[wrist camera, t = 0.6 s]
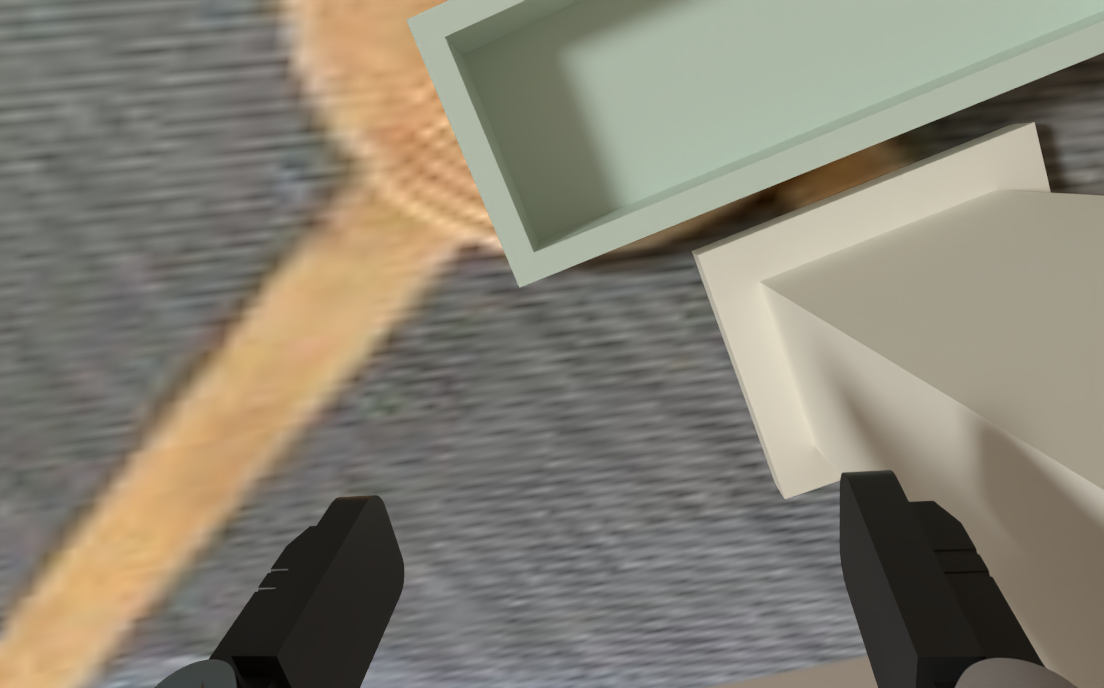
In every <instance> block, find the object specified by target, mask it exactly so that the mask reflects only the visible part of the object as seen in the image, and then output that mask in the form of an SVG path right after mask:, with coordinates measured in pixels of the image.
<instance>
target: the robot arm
mask: <svg viewBox="0 0 1104 688" xmlns="http://www.w3.org/2000/svg"><path fill="white" fill-rule="evenodd" d="M840 557H841V565H842V571H843V576H844V581H845V585H846V588H847V591H848V594H849V597H850V601H851V604H852V607H853V610H854V613H855V616H856V619H857V623H858V626H859V629H860V632H861V635H862V638H863V641H864V645H865V648H866V651H867V654H868V657H869V660H870V663H871V667H872V670H873V673H874V676H875V679H876V682H877V685H878V688H1077V687H1076V686H1075V685H1074V684H1072V683H1071V682H1070V681H1068V680H1067V679H1065V678H1064V677H1062V676H1060V675H1059V674H1057V673H1055V672H1053V671H1051V670H1049V669H1047V668H1046V667H1045V666H1044V664H1043V663H1042V661H1041V660H1040V658H1039V656H1038V654H1037V653H1036V651H1035V649H1034V648H1033V646H1032V644H1031V642H1030V641H1029V639H1028V637H1027V635H1026V634H1025V632H1024V630H1023V629H1022V627H1021V625H1020V623H1019V622H1018V620H1017V618H1016V616H1015V615H1014V613H1013V611H1012V610H1011V608H1010V606H1009V604H1008V603H1007V601H1006V599H1005V597H1004V596H1003V594H1002V592H1001V591H1000V589H999V587H998V585H997V584H996V582H995V580H994V578H993V577H990V574H989V570H988V568H987V566H986V565H985V563H984V561H983V559H982V558H981V556H980V554H977V551H976V547H975V546H974V544H973V542H972V540H971V539H970V537H969V535H968V533H967V532H966V530H965V528H964V527H963V525H962V523H961V522H960V521H959V520H957V519H956V518H955V517H953V516H952V515H951V514H950V513H948V512H947V511H946V510H945V509H943V508H942V507H941V506H940V505H938V504H937V503H936V502H935V501H916V502H909V501H908V499H907V497H906V495H905V493H904V491H903V489H902V487H901V485H900V483H899V481H898V479H897V477H896V475H895V473H894V472H893V471H892V470H880V471H860V472H843V473H842V474H841V478H840ZM403 583H404V563H403V559H402V555H401V552H400V549H399V546H398V543H397V540H396V537H395V534H394V531H393V528H392V525H391V522H390V519H389V516H388V513H387V510H386V507H385V505H384V502H383V501H382V499H381V498H380V497H379V496H376V495H374V496H354V497H338V498H336V499H335V500H334V501H333V502H332V503H331V505H330V506H329V508H328V509H327V511H326V512H325V514H324V515H323V517H322V518H321V520H320V522H319V523H318V525H317V526H310V527H309V528H307V529H306V530H305V531H304V532H303V533H302V534H300V535H299V536H298V537H297V538H296V539H294V540H293V541H292V542H291V543H290V544H289V545H287V546H286V548H285V549H284V551H283V552H282V553H281V555H280V556H279V558H278V559H277V561H276V562H275V564H274V565H273V567H272V568H271V573H268V574H267V575H266V577H265V578H264V580H263V581H262V583H261V584H260V585H259V590H258V592H255V593H254V594H253V596H252V597H251V599H250V600H249V601H248V603H247V604H246V606H245V607H244V609H243V610H242V612H241V613H240V615H239V616H238V617H237V619H236V620H235V622H234V623H233V625H232V626H231V628H230V629H229V631H228V632H227V633H226V635H225V636H224V638H223V639H222V641H221V642H220V644H219V645H218V647H217V648H216V649H215V651H214V652H213V654H212V655H211V657H210V658H209V660H203V661H199V662H195V663H192V664H190V665H187V666H185V667H183V668H181V669H179V670H177V671H175V672H174V673H172V674H171V675H169V676H168V677H166V678H165V679H164V680H162V681H161V682H160V683H159V684H158V685H157V686H156V687H154V688H360V686H361V684H362V682H363V679H364V677H365V675H366V672H367V670H368V668H369V666H370V663H371V661H372V659H373V656H374V654H375V652H376V650H377V647H378V645H379V643H380V641H381V638H382V636H383V634H384V631H385V629H386V627H387V625H388V622H389V620H390V618H391V615H392V613H393V611H394V609H395V606H396V604H397V602H398V600H399V597H400V595H401V592H402V588H403Z"/></svg>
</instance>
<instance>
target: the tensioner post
mask: <svg viewBox="0 0 1104 688" xmlns="http://www.w3.org/2000/svg"><path fill="white" fill-rule="evenodd" d="M692 253H693V256H694V259H695V262H696V264H697V267H698V270H699V273H700V276H701V278H702V281H703V284H704V287H705V289H706V292H707V295H708V298H709V301H710V303H711V306H712V309H713V312H714V315H715V317H716V320H717V323H718V326H719V328H720V331H721V334H722V337H723V340H724V342H725V345H726V348H727V351H728V354H729V356H730V359H731V362H732V365H733V367H734V370H735V373H736V376H737V379H738V381H739V384H740V387H741V390H742V393H743V395H744V398H745V401H746V404H747V406H748V409H749V412H750V415H751V418H752V420H753V423H754V426H755V429H756V431H757V434H758V437H759V440H760V443H761V445H762V448H763V451H764V454H765V457H766V459H767V462H768V465H769V468H770V470H771V473H772V476H773V479H774V482H775V484H776V486H777V488H778V489H779V491H780V492H781V494H782V495H783V497H784V498H785V499H787V498H790V497H793V496H796V495H799V494H802V493H805V492H808V491H810V490H813V489H816V488H819V487H822V486H825V485H828V484H831V483H833V482H836V481H839V480H840V478H841V474H842V473H843V472H860V471H880V470H892V471H893V472H894V473H895V475H896V477H897V479H898V481H899V483H900V485H901V487H902V489H903V491H904V493H905V495H906V497H907V499H908V501H909V502H916V501H935V502H936V503H937V504H938V505H940V506H941V507H942V508H943V509H945V510H946V511H947V512H948V513H950V514H951V515H952V516H953V517H955V518H956V519H957V520H959V521H960V522H961V523H962V525H963V527H964V528H965V530H966V532H967V533H968V535H969V537H970V539H971V540H972V542H973V544H974V546H975V547H976V551H977V554H980V556H981V558H982V559H983V561H984V563H985V565H986V566H987V568H988V570H989V574H990V577H993V578H994V580H995V582H996V584H997V585H998V587H999V589H1000V591H1001V592H1002V594H1003V596H1004V597H1005V599H1006V601H1007V603H1008V604H1009V606H1010V608H1011V610H1012V611H1013V613H1014V615H1015V616H1016V618H1017V620H1018V622H1019V623H1020V625H1021V627H1022V629H1023V630H1024V632H1025V634H1026V635H1027V637H1028V639H1029V641H1030V642H1031V644H1032V646H1033V648H1034V649H1035V651H1036V653H1037V654H1038V656H1039V658H1040V660H1041V661H1042V663H1043V664H1044V666H1045V667H1046V668H1047V669H1049V670H1051V671H1053V672H1055V673H1057V674H1059V675H1060V676H1062V677H1064V678H1065V679H1067V680H1068V681H1070V682H1071V683H1072V684H1074V685H1075V686H1076V687H1077V688H1104V196H1102V195H1084V194H1065V193H1051V191H1050V187H1049V183H1048V178H1047V174H1046V170H1045V165H1044V161H1043V157H1042V152H1041V148H1040V144H1039V139H1038V135H1037V131H1036V127H1035V122H1031V123H1020V124H1011V125H1008V126H1006V127H1003V128H1001V129H998V130H996V131H993V132H991V133H988V134H986V135H983V136H980V137H978V138H975V139H973V140H970V141H968V142H965V143H963V144H960V145H958V146H955V147H953V148H950V149H948V150H945V151H943V152H940V153H938V154H935V155H933V156H930V157H928V158H925V159H922V160H920V161H917V162H915V163H912V164H910V165H907V166H905V167H902V168H900V169H897V170H895V171H892V172H890V173H887V174H885V175H882V176H880V177H877V178H875V179H872V180H870V181H867V182H865V183H862V184H859V185H857V186H854V187H852V188H849V189H847V190H844V191H842V192H839V193H837V194H834V195H832V196H829V197H827V198H824V199H822V200H819V201H817V202H814V203H812V204H809V205H807V206H804V207H801V208H799V209H796V210H794V211H791V212H789V213H786V214H784V215H781V216H779V217H776V218H774V219H771V220H769V221H766V222H764V223H761V224H759V225H756V226H754V227H751V228H749V229H746V230H743V231H741V232H738V233H736V234H733V235H731V236H728V237H726V238H723V239H721V240H718V241H716V242H713V243H711V244H708V245H706V246H703V247H701V248H698V249H696V250H693V251H692Z"/></svg>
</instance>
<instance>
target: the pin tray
mask: <svg viewBox="0 0 1104 688" xmlns="http://www.w3.org/2000/svg"><path fill="white" fill-rule="evenodd" d="M406 21H407V23H408V25H409V28H410V30H411V32H412V35H413V37H414V39H415V42H416V44H417V47H418V49H419V51H420V54H421V56H422V58H423V61H424V63H425V65H426V68H427V70H428V73H429V75H430V77H431V80H432V82H433V84H434V87H435V89H436V91H437V94H438V96H439V98H440V101H441V103H442V106H443V108H444V110H445V113H446V115H447V117H448V120H449V122H450V124H451V127H452V129H453V132H454V134H455V136H456V139H457V141H458V143H459V146H460V148H461V150H462V153H463V155H464V158H465V160H466V162H467V165H468V167H469V169H470V172H471V174H472V176H473V179H474V181H475V184H476V186H477V188H478V191H479V193H480V195H481V198H482V200H483V202H484V205H485V207H486V210H487V212H488V214H489V217H490V219H491V221H492V224H493V226H494V228H495V231H496V233H497V236H498V238H499V240H500V243H501V245H502V247H503V250H504V252H505V254H506V257H507V259H508V262H509V264H510V266H511V269H512V271H513V273H514V276H515V278H516V280H517V283H518V285H519V288H520V287H522V286H525V285H527V284H530V283H532V282H535V281H537V280H540V279H542V278H545V277H547V276H550V275H552V274H554V273H557V272H559V271H562V270H564V269H567V268H569V267H572V266H574V265H577V264H579V263H582V262H584V261H587V260H589V259H592V258H594V257H597V256H599V255H602V254H604V253H607V252H609V251H612V250H614V249H617V248H619V247H622V246H624V245H627V244H629V243H632V242H634V241H637V240H639V239H641V238H644V237H646V236H649V235H651V234H654V233H656V232H659V231H661V230H664V229H666V228H669V227H671V226H674V225H676V224H679V223H681V222H684V221H686V220H689V219H691V218H694V217H696V216H699V215H701V214H704V213H706V212H709V211H711V210H714V209H716V208H719V207H721V206H724V205H726V204H728V203H731V202H733V201H736V200H738V199H741V198H743V197H746V196H748V195H751V194H753V193H756V192H758V191H761V190H763V189H766V188H768V187H771V186H773V185H776V184H778V183H781V182H783V181H786V180H788V179H791V178H793V177H796V176H798V175H801V174H803V173H806V172H808V171H811V170H813V169H815V168H818V167H820V166H823V165H825V164H828V163H830V162H833V161H835V160H838V159H840V158H843V157H845V156H848V155H850V154H853V153H855V152H858V151H860V150H863V149H865V148H868V147H870V146H873V145H875V144H878V143H880V142H883V141H885V140H888V139H890V138H893V137H895V136H898V135H900V134H902V133H905V132H907V131H910V130H912V129H915V128H917V127H920V126H922V125H925V124H927V123H930V122H932V121H935V120H937V119H940V118H942V117H945V116H947V115H950V114H952V113H955V112H957V111H960V110H962V109H965V108H967V107H970V106H972V105H975V104H977V103H980V102H982V101H985V100H987V99H990V98H992V97H994V96H997V95H999V94H1002V93H1004V92H1007V91H1009V90H1012V89H1014V88H1017V87H1019V86H1022V85H1024V84H1027V83H1029V82H1032V81H1034V80H1037V79H1039V78H1042V77H1044V76H1047V75H1049V74H1052V73H1054V72H1057V71H1059V70H1062V69H1064V68H1067V67H1069V66H1072V65H1074V64H1077V63H1079V62H1081V61H1084V60H1086V59H1089V58H1091V57H1094V56H1096V55H1099V54H1101V53H1104V0H448V1H446V2H444V3H442V4H440V5H437V6H435V7H433V8H431V9H429V10H426V11H424V12H422V13H420V14H418V15H416V16H413V17H411V18H409V19H407V20H406Z"/></svg>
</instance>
